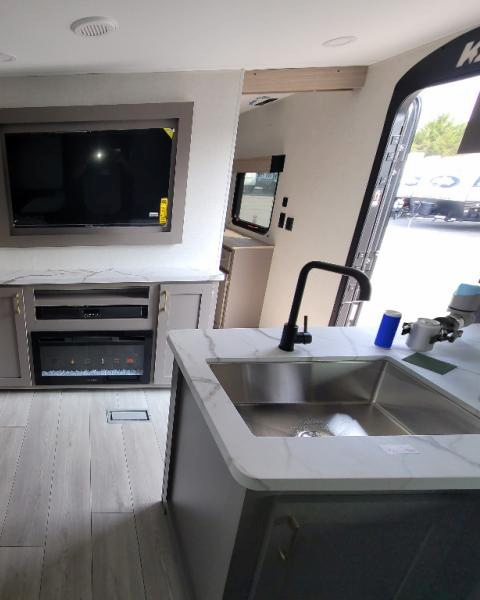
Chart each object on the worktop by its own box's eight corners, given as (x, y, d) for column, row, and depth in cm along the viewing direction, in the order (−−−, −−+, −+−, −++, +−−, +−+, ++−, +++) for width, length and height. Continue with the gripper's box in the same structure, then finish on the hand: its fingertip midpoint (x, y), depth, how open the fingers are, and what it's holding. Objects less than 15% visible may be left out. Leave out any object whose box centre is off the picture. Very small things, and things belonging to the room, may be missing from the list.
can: (411, 351, 125) (422, 323, 120) (400, 342, 131) (409, 315, 127) (436, 354, 122) (448, 325, 118) (423, 344, 129) (434, 317, 125)
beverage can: (387, 344, 131) (399, 310, 126) (392, 350, 127) (405, 315, 122) (371, 342, 133) (382, 308, 128) (376, 348, 129) (387, 313, 124)
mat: (456, 366, 116) (457, 365, 116) (441, 374, 112) (442, 373, 111) (416, 352, 125) (416, 352, 125) (401, 359, 121) (401, 359, 121)
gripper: (478, 342, 124) (450, 357, 115) (410, 323, 141) (381, 334, 133) (487, 325, 121) (458, 338, 113) (416, 307, 139) (386, 317, 130)
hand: (416, 336), depth 123 cm, fingers closed on can, 7 cm apart
